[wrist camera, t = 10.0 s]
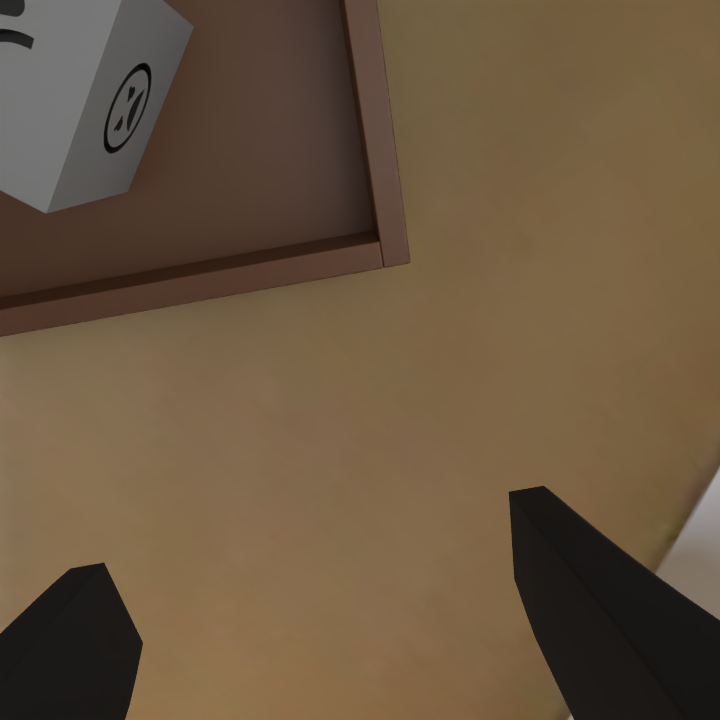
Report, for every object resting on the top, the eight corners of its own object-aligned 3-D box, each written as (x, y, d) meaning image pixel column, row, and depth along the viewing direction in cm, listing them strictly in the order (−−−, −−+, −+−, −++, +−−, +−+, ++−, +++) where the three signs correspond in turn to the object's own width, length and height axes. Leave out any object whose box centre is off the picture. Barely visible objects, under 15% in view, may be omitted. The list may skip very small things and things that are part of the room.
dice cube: (194, 26, 14) (131, -27, 10) (127, 191, 16) (46, 213, 11) (6, -94, 13) (-168, -220, 8) (-46, 98, 15) (-217, 80, 10)
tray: (-81, 333, 18) (-142, 363, 15) (-371, -198, 12) (-533, -276, 10) (399, 247, 17) (410, 263, 15) (321, -332, 12) (319, -441, 10)
